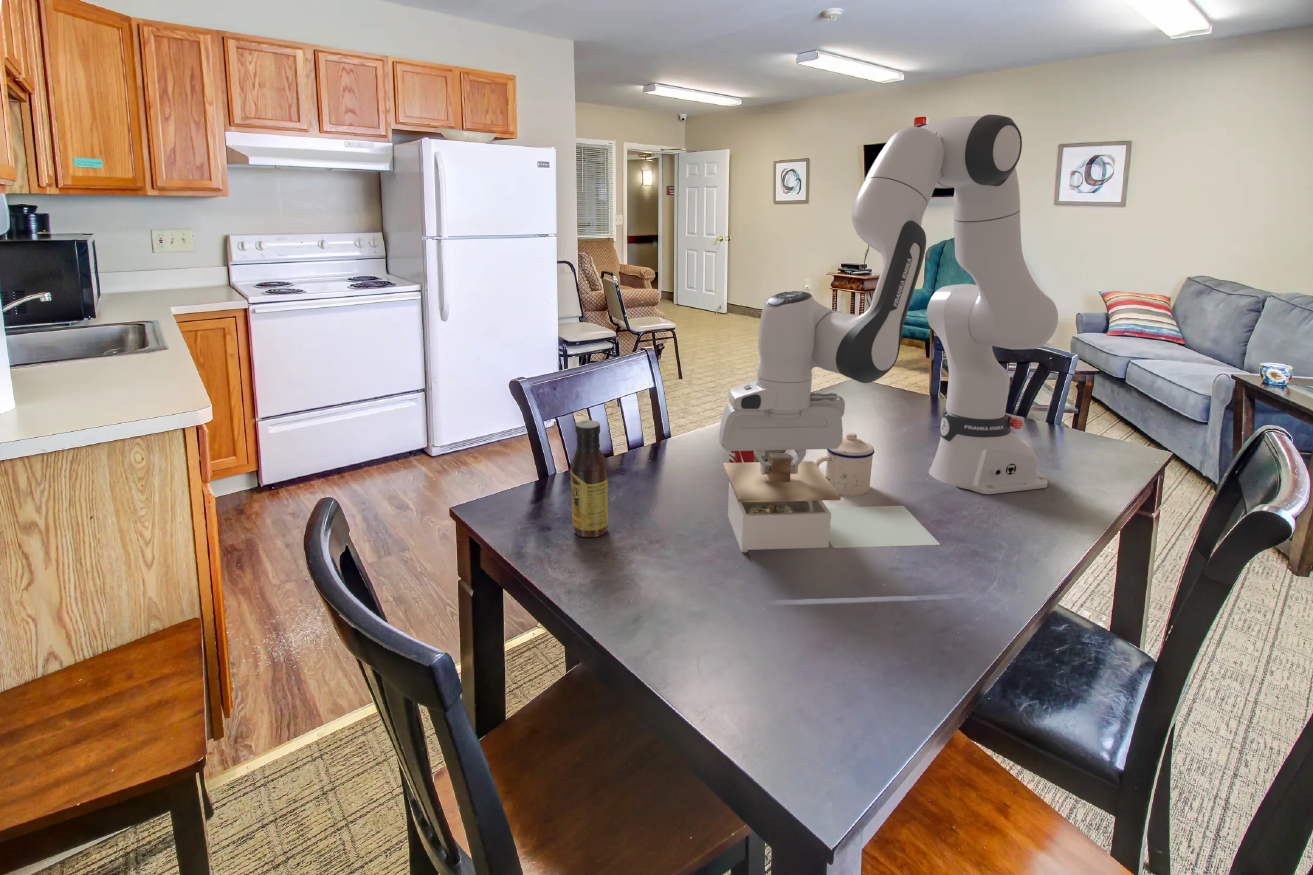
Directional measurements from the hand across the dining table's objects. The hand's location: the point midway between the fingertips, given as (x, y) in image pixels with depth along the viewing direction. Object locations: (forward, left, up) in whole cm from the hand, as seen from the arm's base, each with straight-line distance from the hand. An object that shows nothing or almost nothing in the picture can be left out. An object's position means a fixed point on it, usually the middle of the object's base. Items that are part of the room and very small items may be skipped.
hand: (778, 473), depth 120 cm
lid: (0, 0, -3) cm, 3 cm away
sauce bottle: (+32, -2, -11) cm, 34 cm away
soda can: (+2, -23, -11) cm, 26 cm away
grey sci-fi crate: (-6, -39, -11) cm, 41 cm away
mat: (-17, -1, -11) cm, 20 cm away
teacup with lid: (-17, -18, -11) cm, 27 cm away
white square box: (0, 0, -11) cm, 11 cm away
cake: (0, -2, -11) cm, 12 cm away
